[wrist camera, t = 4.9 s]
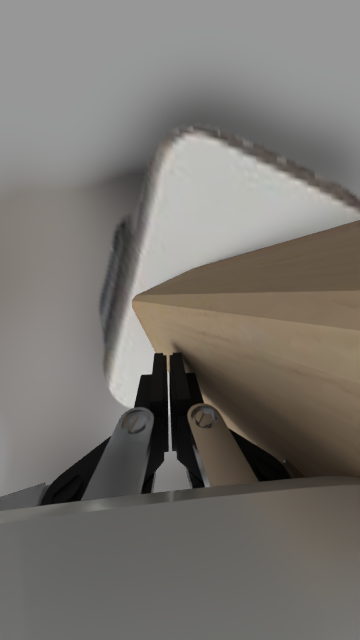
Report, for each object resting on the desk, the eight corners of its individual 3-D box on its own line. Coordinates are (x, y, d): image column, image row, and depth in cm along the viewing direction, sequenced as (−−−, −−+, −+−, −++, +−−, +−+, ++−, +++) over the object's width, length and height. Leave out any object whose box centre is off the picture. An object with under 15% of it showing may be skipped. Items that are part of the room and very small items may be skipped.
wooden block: (218, 330, 25) (502, 412, 8) (162, 368, 22) (430, 669, 4) (195, 266, 22) (583, 149, 4) (126, 299, 19) (550, 342, 1)
